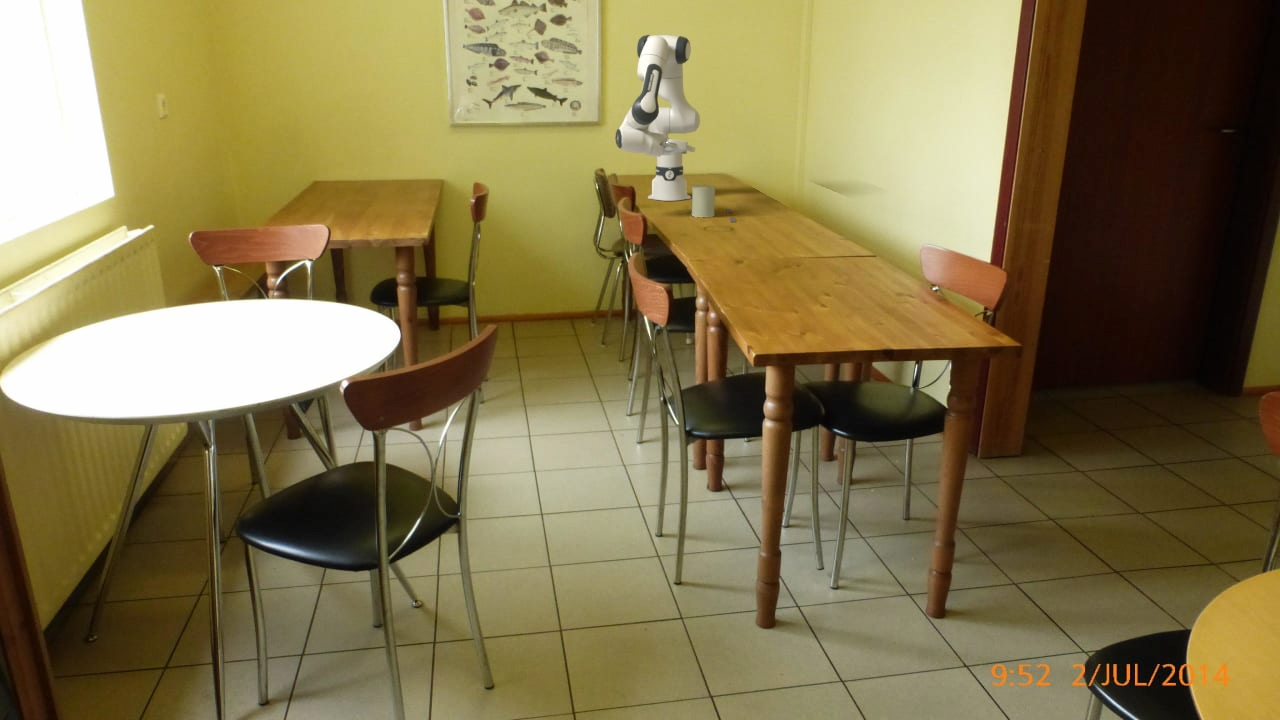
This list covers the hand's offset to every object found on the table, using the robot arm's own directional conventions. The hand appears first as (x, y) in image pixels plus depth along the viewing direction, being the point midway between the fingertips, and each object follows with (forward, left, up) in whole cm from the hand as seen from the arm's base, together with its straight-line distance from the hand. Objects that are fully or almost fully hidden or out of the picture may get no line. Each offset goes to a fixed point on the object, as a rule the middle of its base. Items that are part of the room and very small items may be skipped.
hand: (690, 150), depth 364 cm
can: (+2, +5, -25) cm, 26 cm away
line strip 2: (+12, +16, -25) cm, 32 cm away
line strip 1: (-9, +16, -25) cm, 31 cm away
